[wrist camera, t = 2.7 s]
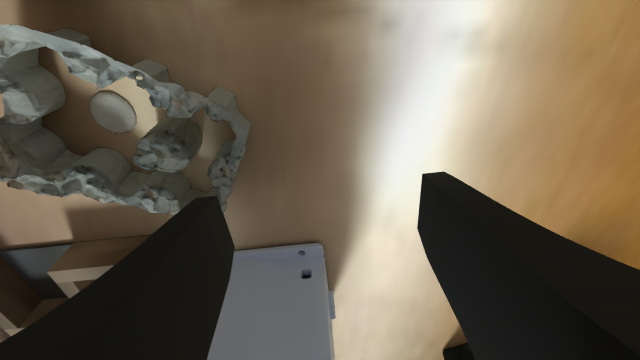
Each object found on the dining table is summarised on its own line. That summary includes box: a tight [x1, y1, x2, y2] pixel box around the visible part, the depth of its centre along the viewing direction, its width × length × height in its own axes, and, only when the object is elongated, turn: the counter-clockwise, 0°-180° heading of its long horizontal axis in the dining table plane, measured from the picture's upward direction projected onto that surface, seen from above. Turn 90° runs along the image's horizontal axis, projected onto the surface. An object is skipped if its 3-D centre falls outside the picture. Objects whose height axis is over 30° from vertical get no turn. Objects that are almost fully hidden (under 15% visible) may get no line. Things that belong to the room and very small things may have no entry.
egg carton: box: [0, 25, 251, 215], centre depth 15 cm, size 11×8×4 cm
